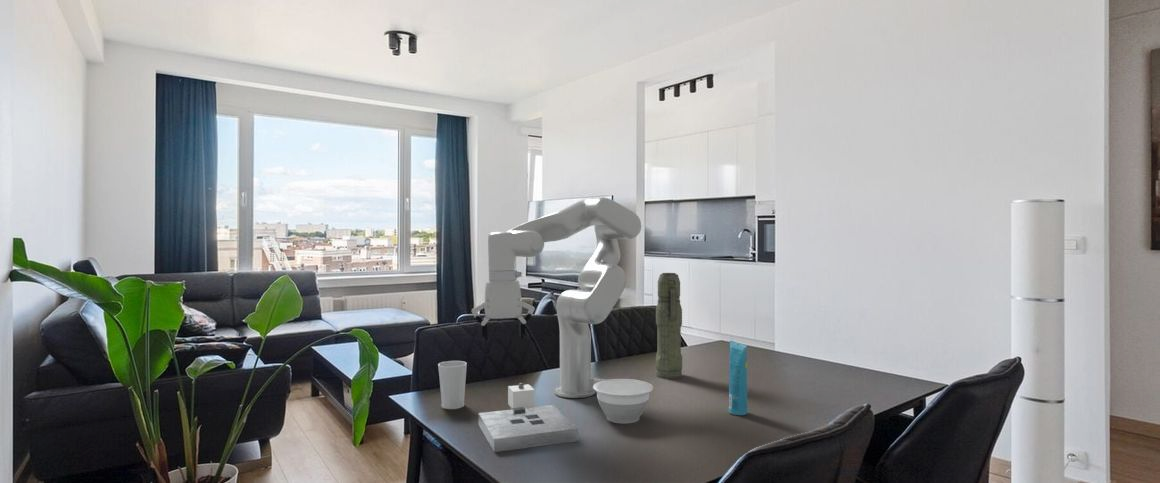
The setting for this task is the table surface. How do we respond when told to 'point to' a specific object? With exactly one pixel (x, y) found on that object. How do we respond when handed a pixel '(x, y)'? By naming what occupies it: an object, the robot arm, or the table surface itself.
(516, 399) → the plug
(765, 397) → the table surface
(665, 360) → the thermos
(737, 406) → the tube
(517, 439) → the socket
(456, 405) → the cup
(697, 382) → the table surface
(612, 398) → the bowl
